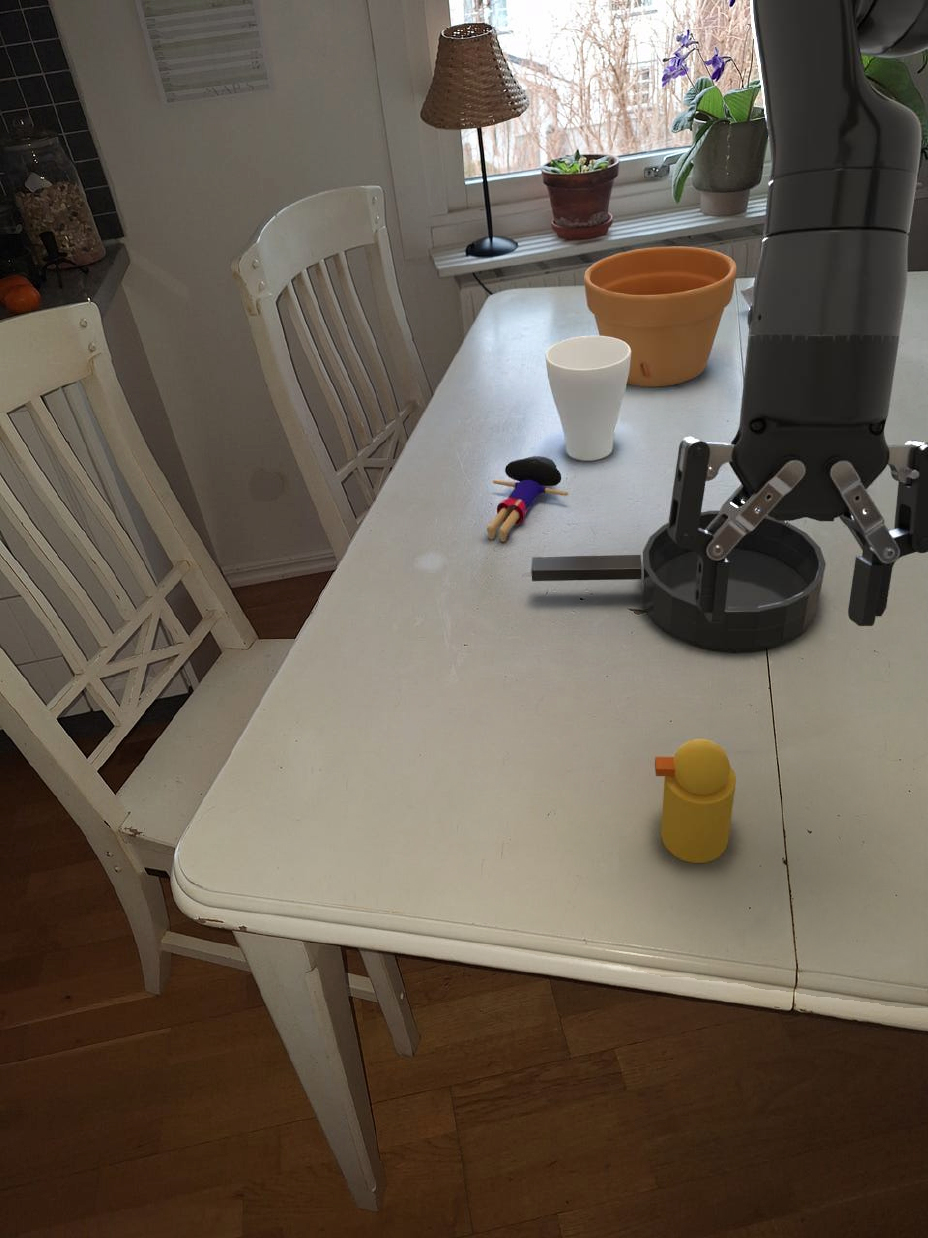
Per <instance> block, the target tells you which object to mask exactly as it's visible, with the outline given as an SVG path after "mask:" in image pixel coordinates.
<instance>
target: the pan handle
mask: <svg viewBox="0 0 928 1238" xmlns="http://www.w3.org/2000/svg"><path fill="white" fill-rule="evenodd" d="M530 571H531V573H530V574H531V581H532V582H564V581H565V582H570V581H571V582H572V581H626V580H627V581H629V580H632V581H633V580H642V556H641V554H613V555H611V554H610V555H568V556H565V555H563V556H562V555H561V556H533V557H532V558H531V569H530Z"/></svg>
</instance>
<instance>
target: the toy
mask: <svg viewBox="0 0 928 1238" xmlns="http://www.w3.org/2000/svg"><path fill="white" fill-rule="evenodd" d="M504 471H505V475H506V476H507V477H508V478H509V479H511V480H514V481H505V480H499V479H493V480H492V483H493V484H495V485H500V486H506V487H511V488H514V489H513V490H512V491H511V493H510V494H509V496H508V497H507V498H505V499H503V500H502V501H500V502H499V503H498V504H497V505H496V513H497V514H496V515H495V516H494V517H493V519H492V520H491V521H490V523H489V524H488V526H487V528H486V531H487V535H488V539H489V540H494V539H495V536H496V532H497V530H499V531H498V536H499V540H500V541H501V542H503V543H504V542H506V541H507V535H508V534H509V532H510V531H511V529H512V528H513V527H514V526H515V525H516V526H520V525H522V524H523V523H524V520H525V518H526V513H527V511H528V510H529V508H530V507H531V506H532V505H533V503H534V502H535V501H536V499H537V498H538V497H539V496H540V495H541V494H552V495H559V496H563V497H567V496H569V494H570V493H569V492H568V491H563V490H559V489H553V488H550V487H554V486H555V487H556V486H557V485H559V484H560V483H561V481H562V473H561V472H560V471H559V469H558V468H557V464H556V463H555V462H554V460H553V459H551V458H549V457H545V456H537V455H533V456H529V457H526V458H525V457H524V458H520V459H516V460H512V461H510V462H509V463H508V464H506V466H505V468H504ZM515 481H516V482H515Z"/></svg>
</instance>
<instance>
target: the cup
mask: <svg viewBox="0 0 928 1238" xmlns="http://www.w3.org/2000/svg"><path fill="white" fill-rule="evenodd" d="M544 355H545V363H546V364H545V365H546V371H547V372H546V373H547V378H548V381H549V382H548V383H549V386H550V387H549V388H550V392H551V395H552V399H553V402H554V405H555V409H556V412H557V414H558V416H559V421H560V424H561V428H562V431H563V435H564V443H565V449H566V454H567V455H568V456H569V457H571V458H572V459H575V460H578V461H585V462H593V461H598V460H601V459H605V458H607V457H608V456H609V455H610V454H611V453H612V451H613V448H614V439H615V430H616V426H617V422H618V418H619V413H620V410H621V407H622V404H623V400H624V398H625V397H624V396H625V395H626V394H625V393H626V388H627V384H628V383H627V380H628V375H629V370H630V359H631V349H630V346H629V345H628V344H627V343H626V342H624V341H622V340H620V339H616V338H612V337H607V336H600V335H581V336H580V335H579V336H575V337H570V338H567V339H563V340H560V341H558V342H556V343H554V344H552V345H551V346H550V347H549V348H548V349H547V351H546V352H545V354H544Z"/></svg>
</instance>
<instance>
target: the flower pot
mask: <svg viewBox="0 0 928 1238" xmlns="http://www.w3.org/2000/svg"><path fill="white" fill-rule="evenodd" d="M736 275H737V264H736V262H735V261H734V260H733V259H732V258H731V257H730V256H728V255H726V254H724V253H722V252H719V251H717V250H712V249H707V248H701V247H695V246H680V245H679V246H675V245H674V246H673V245H672V246H654V247H646V248H638V249H632V250H628V251H623V252H619V253H616V254H613V255H610V256H609V255H608V256H606V257H605V258H602V259H600V260H598V261H596V262H595V263H592V265H590V266H589V267H588V268H587V269H586V271H585V272H584V276H583V282H584V292H585V299H586V306H587V308H588V310H589V311H590V313H592V314H593V316H594V319H595V324H596V327H597V331H598V334H599V335H598V336H607V337H612V338H616V339H620V340H622V341H624V342H626V343H627V344H628V345H629V346H630V349H631V359H630V370H629V375H628V380H627V384H629V385H633V386H637V387H650V388H652V387H653V388H655V387H669V386H675V385H680V384H683V383H686V382H689V381H691V380H694V379H695V378H697V377H698V376H700V375H701V374H702V373H703V372H704V370H705V369H706V368H707V364H708V361H709V358H710V355H711V352H712V349H713V346H714V343H715V339H716V336H717V333H718V329H719V327H720V324H721V321H722V317H723V314H724V310H725V308H726V307H727V306H729V304H730V303H731V301H732V299H733V295H734V290H735V283H736Z"/></svg>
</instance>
